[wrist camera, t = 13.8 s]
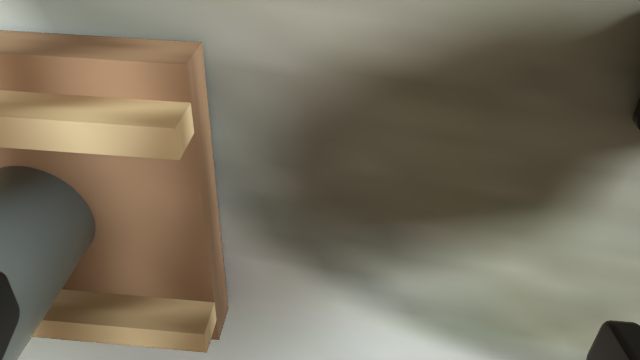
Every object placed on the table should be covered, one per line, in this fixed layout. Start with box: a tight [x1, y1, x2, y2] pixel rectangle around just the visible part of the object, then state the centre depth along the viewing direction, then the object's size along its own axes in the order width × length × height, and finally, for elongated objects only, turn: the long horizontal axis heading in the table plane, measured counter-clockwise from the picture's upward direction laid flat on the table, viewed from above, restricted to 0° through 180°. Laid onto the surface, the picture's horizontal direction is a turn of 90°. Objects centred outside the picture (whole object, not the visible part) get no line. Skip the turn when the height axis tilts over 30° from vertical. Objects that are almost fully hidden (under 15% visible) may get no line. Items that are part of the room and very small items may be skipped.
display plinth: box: [0, 30, 228, 352], centre depth 23 cm, size 12×14×4 cm
